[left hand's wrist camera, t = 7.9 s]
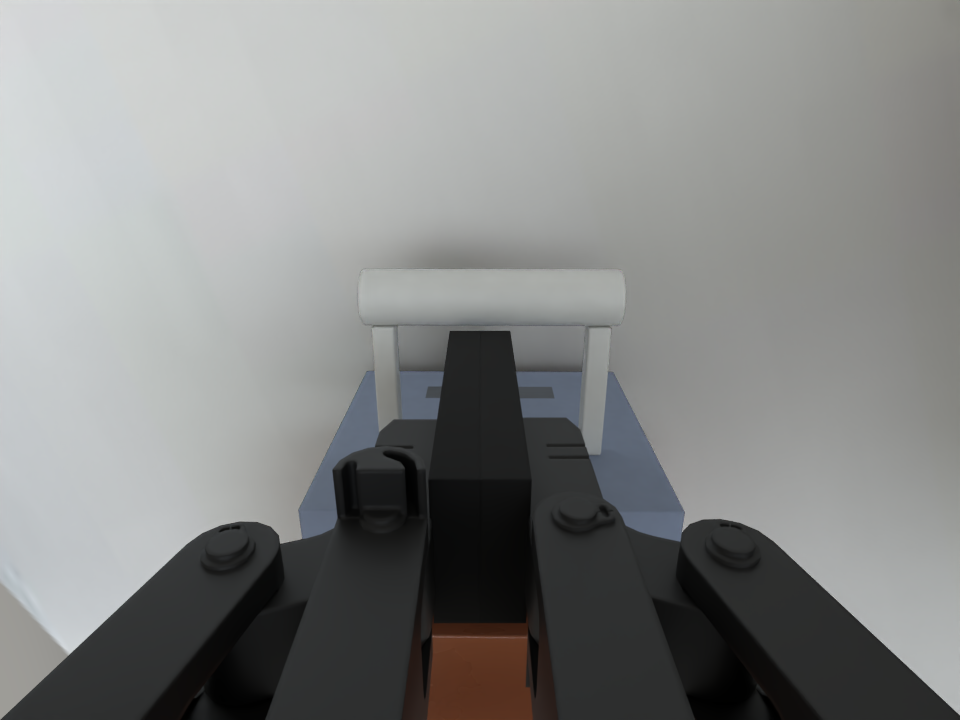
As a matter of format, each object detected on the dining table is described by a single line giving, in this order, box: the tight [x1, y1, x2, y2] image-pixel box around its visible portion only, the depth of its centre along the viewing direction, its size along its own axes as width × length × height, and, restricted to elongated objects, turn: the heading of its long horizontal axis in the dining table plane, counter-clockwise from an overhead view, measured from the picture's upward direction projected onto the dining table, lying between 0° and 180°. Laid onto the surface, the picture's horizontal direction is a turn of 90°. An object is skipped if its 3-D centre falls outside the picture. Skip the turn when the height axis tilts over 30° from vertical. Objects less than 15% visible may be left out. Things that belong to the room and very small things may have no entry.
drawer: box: [299, 269, 685, 542], centre depth 21 cm, size 25×9×9 cm, turn 0°
